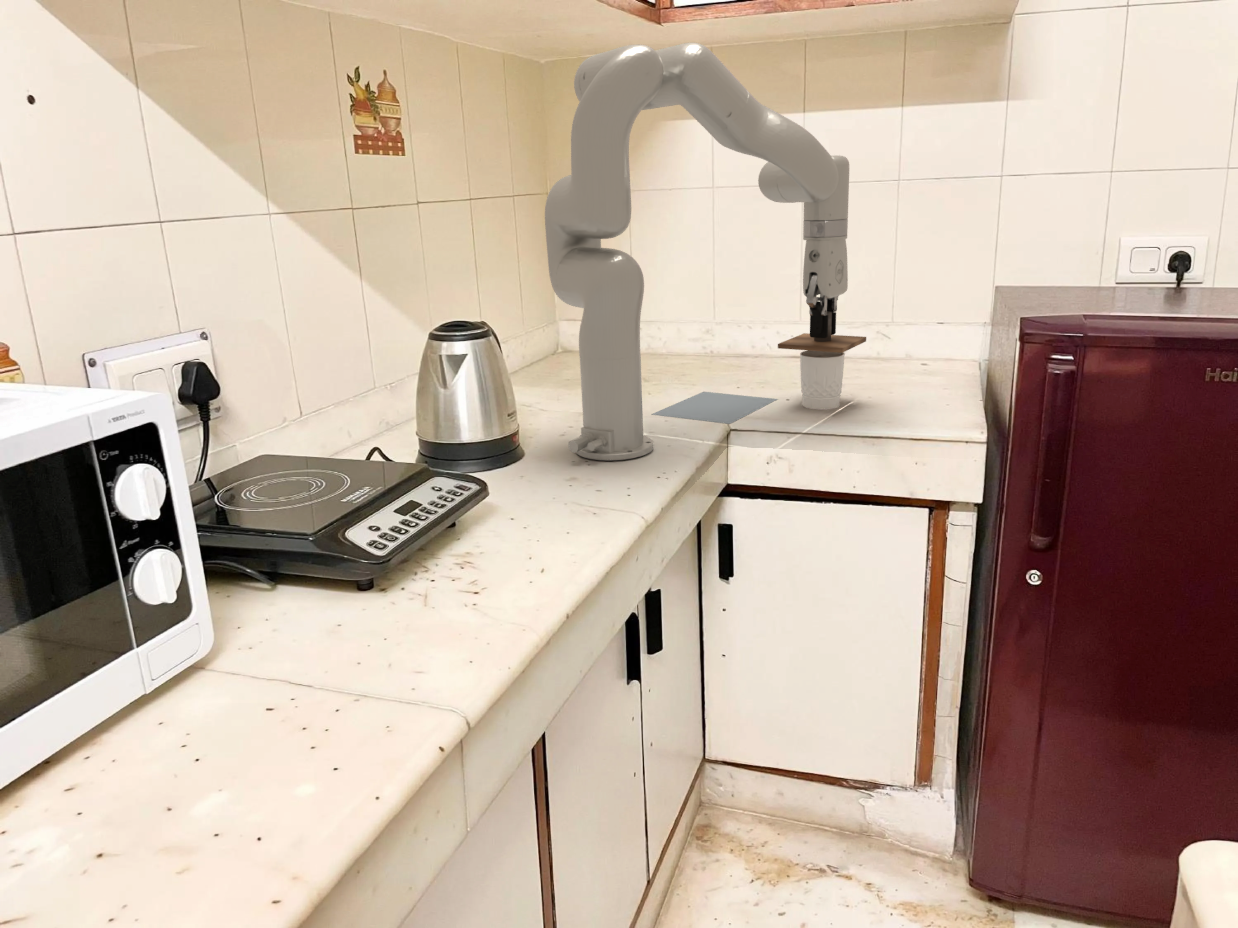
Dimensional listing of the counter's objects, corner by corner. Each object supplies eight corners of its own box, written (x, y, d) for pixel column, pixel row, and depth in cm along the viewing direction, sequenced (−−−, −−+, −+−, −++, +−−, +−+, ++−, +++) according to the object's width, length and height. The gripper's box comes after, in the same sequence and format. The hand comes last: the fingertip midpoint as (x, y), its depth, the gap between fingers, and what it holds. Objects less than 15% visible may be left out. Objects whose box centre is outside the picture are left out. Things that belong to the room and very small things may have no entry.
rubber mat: (729, 426, 158) (729, 423, 158) (651, 416, 167) (651, 414, 167) (777, 401, 174) (777, 399, 174) (703, 393, 183) (703, 391, 183)
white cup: (793, 410, 167) (794, 356, 164) (806, 400, 174) (807, 348, 171) (836, 413, 164) (838, 358, 161) (847, 403, 170) (849, 350, 167)
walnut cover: (842, 352, 157) (843, 319, 155) (777, 348, 164) (778, 316, 162) (866, 341, 167) (867, 309, 165) (804, 337, 173) (804, 306, 171)
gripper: (828, 234, 151) (825, 344, 156) (862, 227, 164) (858, 330, 169) (785, 234, 155) (784, 342, 160) (822, 227, 168) (820, 327, 173)
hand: (822, 334), depth 165 cm, fingers closed on walnut cover, 3 cm apart
